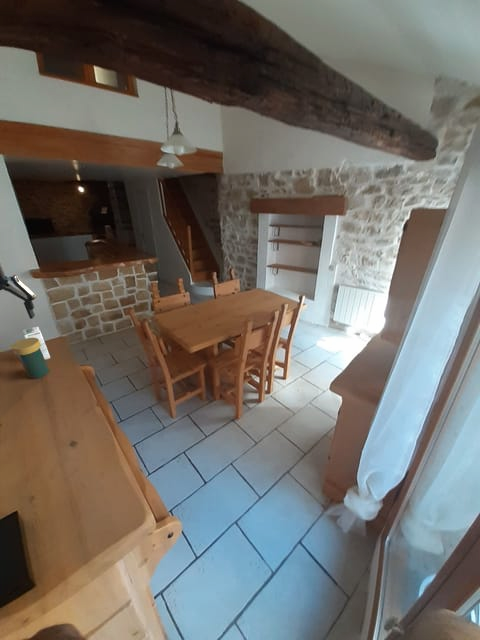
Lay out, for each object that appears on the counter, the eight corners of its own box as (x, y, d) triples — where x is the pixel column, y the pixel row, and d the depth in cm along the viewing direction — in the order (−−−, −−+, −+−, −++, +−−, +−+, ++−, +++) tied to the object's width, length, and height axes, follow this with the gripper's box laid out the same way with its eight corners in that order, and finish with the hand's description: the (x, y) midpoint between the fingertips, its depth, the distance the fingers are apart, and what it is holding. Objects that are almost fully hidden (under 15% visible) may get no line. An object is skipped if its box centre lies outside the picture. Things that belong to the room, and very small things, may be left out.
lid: (10, 357, 94) (7, 351, 93) (17, 346, 101) (14, 340, 100) (38, 352, 98) (35, 346, 96) (43, 341, 104) (40, 335, 103)
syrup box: (33, 357, 115) (21, 330, 108) (49, 352, 118) (38, 325, 112) (35, 363, 111) (22, 335, 104) (51, 358, 115) (40, 330, 108)
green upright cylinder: (26, 381, 101) (11, 351, 94) (30, 370, 107) (17, 341, 100) (47, 376, 103) (34, 346, 97) (50, 366, 109) (39, 338, 103)
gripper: (-72, 270, 78) (-38, 329, 87) (25, 263, 85) (47, 319, 95) (-56, 264, 84) (-26, 320, 94) (33, 258, 92) (52, 311, 101)
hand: (11, 319), depth 94 cm, fingers open, 13 cm apart
